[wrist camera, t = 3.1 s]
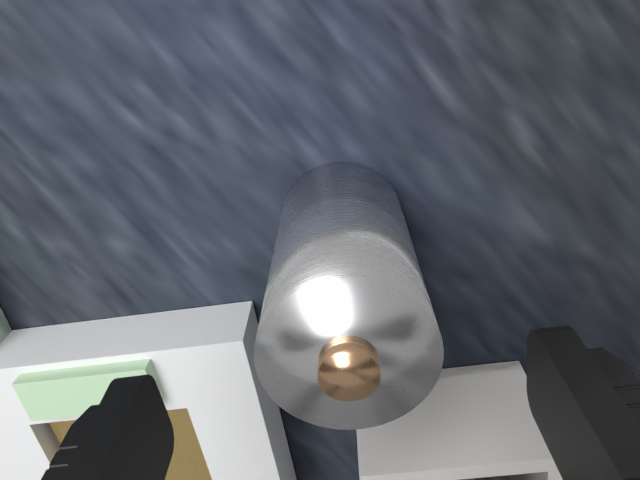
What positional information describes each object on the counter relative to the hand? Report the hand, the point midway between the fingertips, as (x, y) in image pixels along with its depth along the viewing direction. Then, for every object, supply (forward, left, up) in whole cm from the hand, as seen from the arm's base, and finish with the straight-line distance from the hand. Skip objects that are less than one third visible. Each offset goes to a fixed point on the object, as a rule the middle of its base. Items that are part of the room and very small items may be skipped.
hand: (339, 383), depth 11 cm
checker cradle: (+10, +9, -9) cm, 16 cm away
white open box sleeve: (-3, +11, -9) cm, 15 cm away
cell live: (0, 0, -9) cm, 9 cm away
